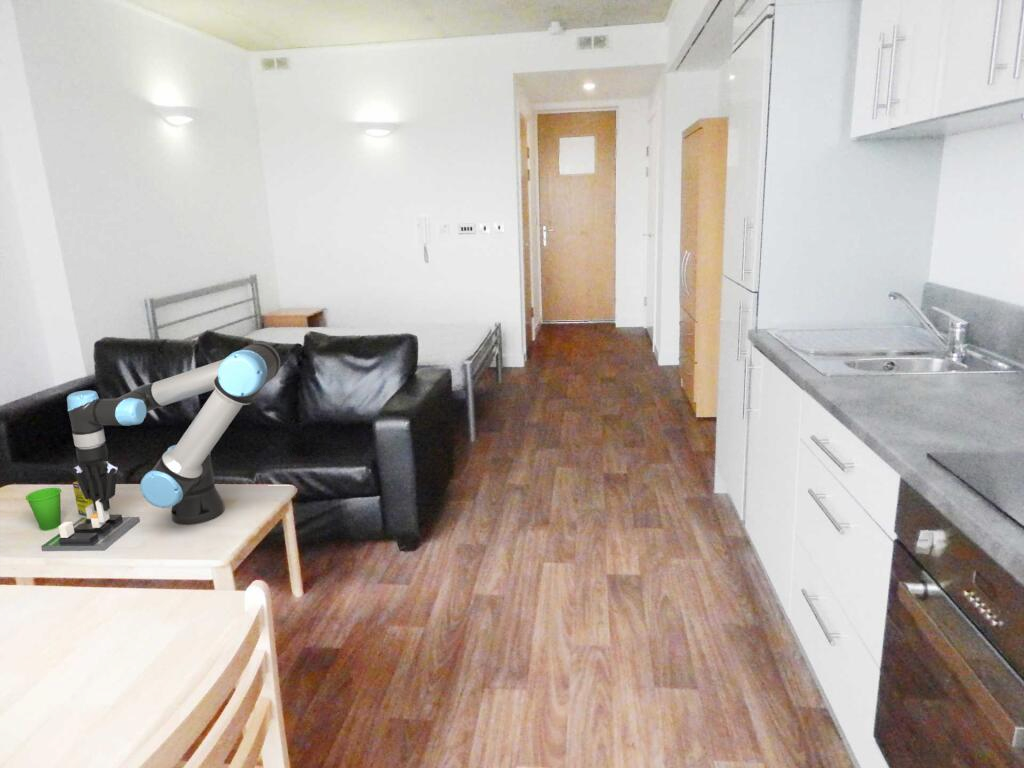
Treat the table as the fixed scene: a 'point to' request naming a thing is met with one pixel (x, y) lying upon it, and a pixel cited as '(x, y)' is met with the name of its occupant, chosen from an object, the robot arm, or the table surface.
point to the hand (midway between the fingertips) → (104, 520)
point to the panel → (92, 546)
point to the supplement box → (81, 499)
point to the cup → (46, 507)
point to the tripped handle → (96, 521)
